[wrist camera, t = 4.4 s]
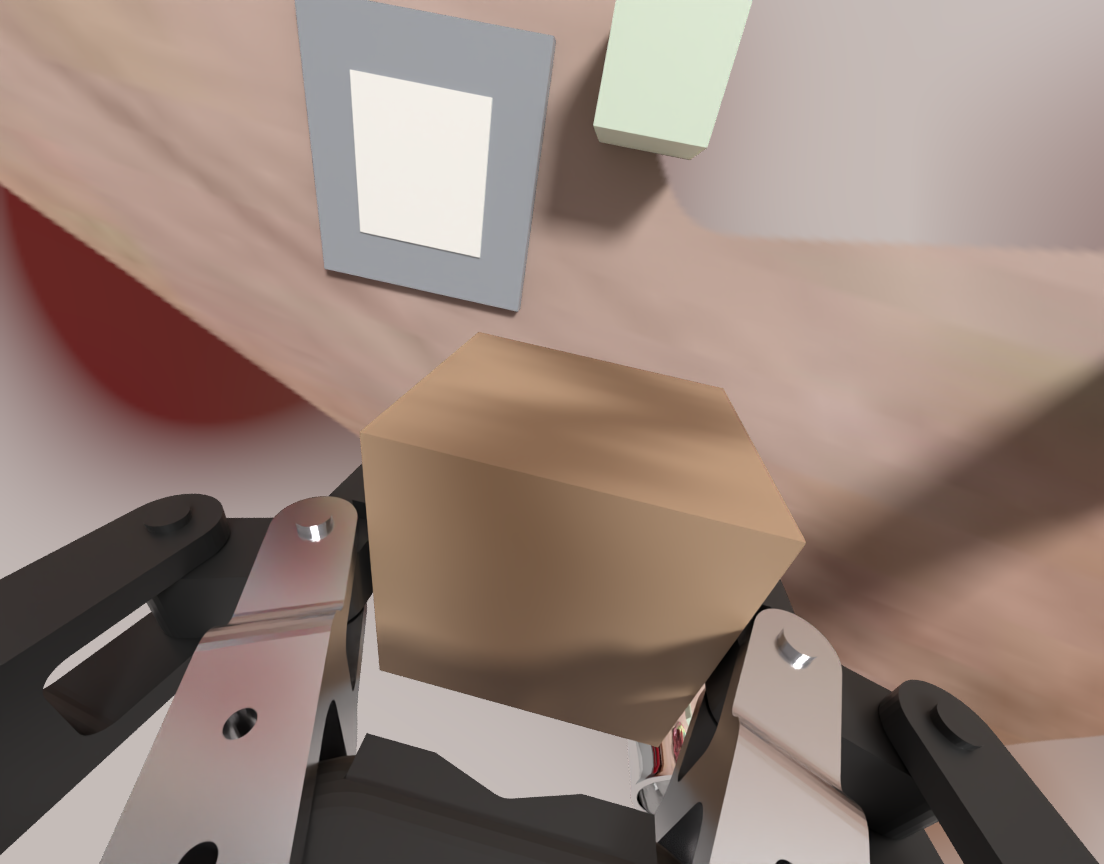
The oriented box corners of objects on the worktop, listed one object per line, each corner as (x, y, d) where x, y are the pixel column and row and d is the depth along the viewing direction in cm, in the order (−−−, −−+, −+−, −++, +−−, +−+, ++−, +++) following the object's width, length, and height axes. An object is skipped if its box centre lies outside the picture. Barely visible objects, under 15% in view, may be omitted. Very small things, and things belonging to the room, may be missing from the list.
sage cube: (727, 33, 17) (758, -18, 13) (689, 160, 19) (707, 147, 15) (623, 15, 17) (623, -42, 13) (599, 142, 19) (593, 125, 15)
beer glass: (612, 581, 34) (605, 809, 21) (645, 525, 30) (662, 759, 18) (687, 607, 34) (727, 849, 21) (729, 555, 31) (808, 808, 18)
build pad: (556, 41, 18) (553, 35, 17) (519, 309, 24) (517, 312, 23) (302, -8, 18) (291, -15, 18) (331, 267, 24) (323, 268, 24)
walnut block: (723, 388, 9) (806, 542, 5) (646, 560, 12) (657, 746, 8) (478, 331, 10) (359, 432, 5) (463, 513, 13) (379, 670, 8)
